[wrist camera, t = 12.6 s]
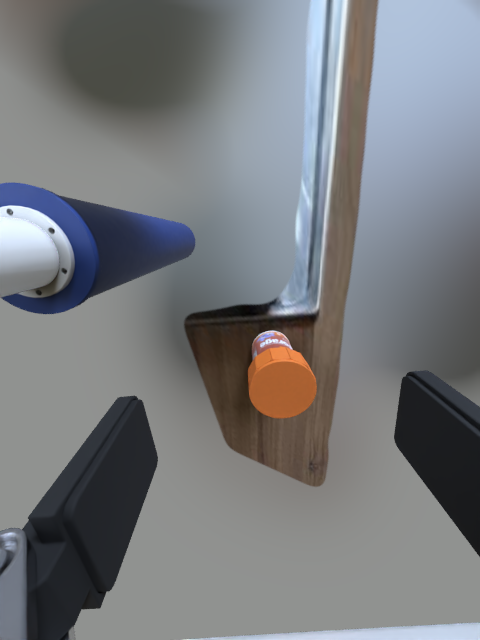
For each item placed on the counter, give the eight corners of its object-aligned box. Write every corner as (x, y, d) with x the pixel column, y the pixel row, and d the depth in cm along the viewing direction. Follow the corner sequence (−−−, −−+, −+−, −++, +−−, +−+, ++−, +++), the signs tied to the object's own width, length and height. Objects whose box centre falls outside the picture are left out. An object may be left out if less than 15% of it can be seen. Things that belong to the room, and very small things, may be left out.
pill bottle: (293, 331, 38) (313, 367, 28) (286, 366, 40) (302, 411, 30) (253, 327, 38) (259, 362, 27) (248, 362, 40) (252, 407, 29)
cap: (238, 387, 32) (237, 404, 29) (265, 337, 30) (268, 350, 26) (290, 408, 33) (295, 427, 30) (320, 361, 31) (329, 376, 28)
